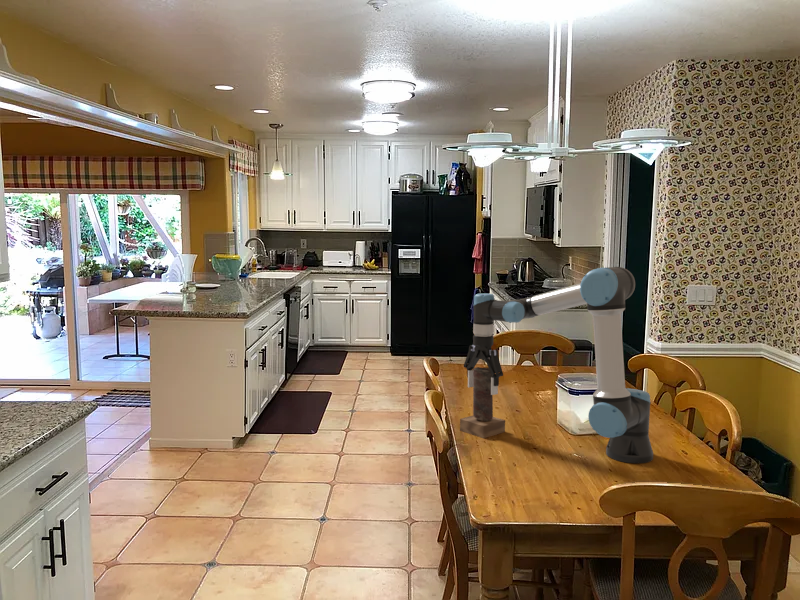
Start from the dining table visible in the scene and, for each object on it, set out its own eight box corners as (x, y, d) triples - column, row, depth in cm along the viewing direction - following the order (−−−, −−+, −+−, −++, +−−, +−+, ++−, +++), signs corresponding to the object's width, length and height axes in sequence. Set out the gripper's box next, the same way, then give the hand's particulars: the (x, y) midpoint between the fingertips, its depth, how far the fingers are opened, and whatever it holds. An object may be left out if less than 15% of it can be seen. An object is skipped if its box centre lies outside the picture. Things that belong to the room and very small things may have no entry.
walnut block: (504, 433, 246) (505, 420, 246) (483, 439, 239) (483, 426, 238) (481, 425, 256) (481, 413, 255) (459, 431, 248) (460, 418, 247)
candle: (469, 419, 246) (469, 368, 243) (478, 413, 252) (478, 363, 249) (487, 423, 242) (488, 371, 238) (495, 417, 248) (497, 366, 244)
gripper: (513, 338, 235) (512, 396, 237) (470, 329, 256) (469, 382, 258) (497, 340, 231) (496, 398, 233) (455, 331, 252) (454, 385, 254)
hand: (482, 390), depth 245 cm, fingers open, 13 cm apart
